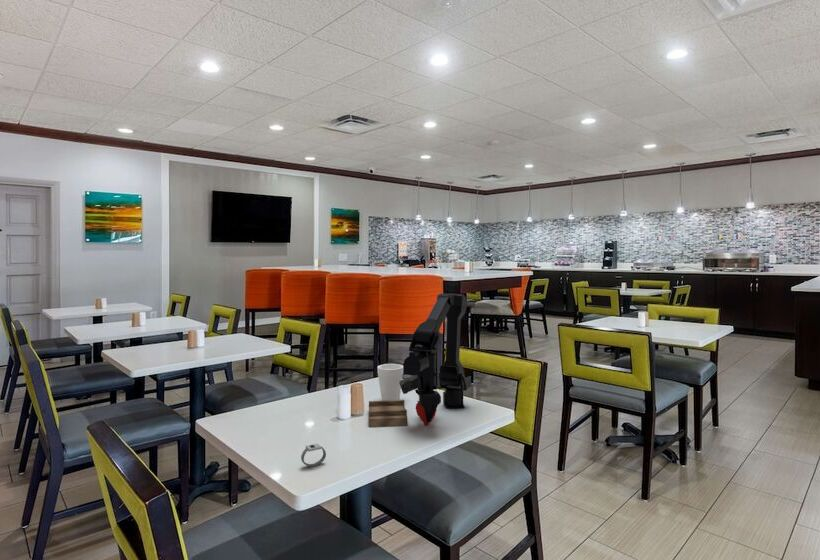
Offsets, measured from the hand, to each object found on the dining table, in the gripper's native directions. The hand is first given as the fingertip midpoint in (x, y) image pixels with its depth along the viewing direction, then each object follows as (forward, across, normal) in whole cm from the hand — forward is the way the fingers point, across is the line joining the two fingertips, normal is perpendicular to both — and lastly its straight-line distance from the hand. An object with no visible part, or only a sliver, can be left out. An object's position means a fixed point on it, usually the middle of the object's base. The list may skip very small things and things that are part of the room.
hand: (426, 417), depth 147 cm
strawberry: (+3, 0, 0) cm, 3 cm away
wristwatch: (+3, +25, -32) cm, 41 cm away
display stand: (+3, -9, -12) cm, 15 cm away
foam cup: (+3, -26, -10) cm, 28 cm away
